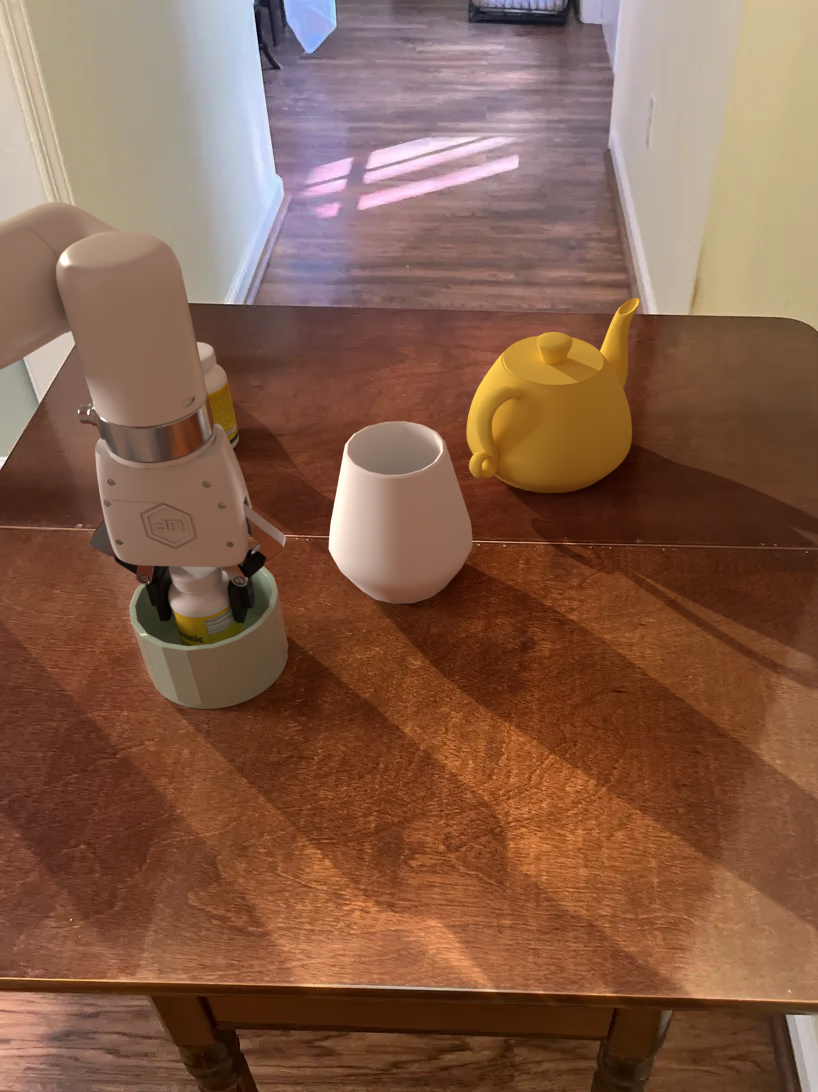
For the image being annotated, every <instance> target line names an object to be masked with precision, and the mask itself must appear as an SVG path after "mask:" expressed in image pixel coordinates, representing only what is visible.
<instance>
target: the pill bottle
mask: <svg viewBox="0 0 818 1092" xmlns="http://www.w3.org/2000/svg"><path fill="white" fill-rule="evenodd" d="M196 343H197V346H198V351H199V356H200V361H201V366H202V370H203V375H204V380H205V385H206V389H207V393H208V398H209V403H210V407H211V412H212V417H213V422H214V424H219V425H221V426H222V428H223V429H224V431H225V433H226V435H227V437H228V439H229V441H230V443H231V446H232V448H233V449H234V448H235V447H236V446H237V445H238V443H239V440H240V436H239V428H238V423H237V419H236V414H235V408H234V405H233V400H232V396H231V395H232V394H231V390H230V385H229V379H228V376H227V373H226V371H225V370H224V368H223V367H222V366H221V365H219V364H218V363H217V357H216V356H217V355H216V352H215V349H214V347H213V346H212V345H210V344H208V343H206V342H200V341H196Z"/></svg>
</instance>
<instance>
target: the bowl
mask: <svg viewBox="0 0 818 1092" xmlns="http://www.w3.org/2000/svg"><path fill="white" fill-rule="evenodd" d="M222 570H223V571H225V570H224V569H223V567H222ZM252 582H253V587H254V592H255V604H254V607H253V609H250V608H248V611H247V614H246V618H245V621H244V626H245V631H243V632H242V633H240V634H239V635H237V636H234V637H232V638H229V639H226V640H223V641H220V642H217V643H214V644H206V645H196V646H183V645H182V644H181V640H180V637H179V634H178V630H177V627H176V623H175V620H174V617H173V614H172V616H171V619H170V620H168V621H167V622H166V621H160V619H159V615H158V612H157V609H156V606H152V605H151V602H150V599H149V595H148V592H147V589H146V586H145V584H141V583H140V584H139V585H138V586H137V587H136V588H135V591H134V593H133V597H132V599H131V601H130V603H129V606H128V608H129V615H130V616H129V617H130V623H131V626H132V629H133V632H134V635H135V639H136V641H137V643H138V647H139V650H140V653H141V656H142V659H143V662H144V664H145V668H146V670H147V673H148V674H147V675H148V676H149V678H150V680H151V682H152V684H153V685H154V688H155V689H156V690H157V691H158V692H159V694H161V695H162V696H163V697H164V698H166V699H167V700H169V701H171V702H172V703H174V704H177V705H178V706H182V707H186V708H190V709H196V710H197V709H198V710H216V709H224V708H229V707H233V706H236V705H240V704H242V703H245V702H247V701H249V700H251V699H253V698H255V697H257V696H259V695H260V694H263V693H264V692H265V691H266V690H267V689H269V688H270V687H271V686H272V685H273V684H274V683H275V682H276V681H277V680H278V679H279V677H280V676H281V674H282V673H283V672H284V669H285V667H286V665H287V661H288V658H289V642H288V637H287V631H286V625H285V620H284V614H283V610H282V605H281V600H280V593H279V590H278V586H277V583H276V579H275V576H274V575H273V574H272V572H270V570H268V569H267V568H266V566H265V565H264V566H263V567H262V568H261V569H260V570H259V571H258V572H256V573H255V574H254V575H253V576H252Z"/></svg>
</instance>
